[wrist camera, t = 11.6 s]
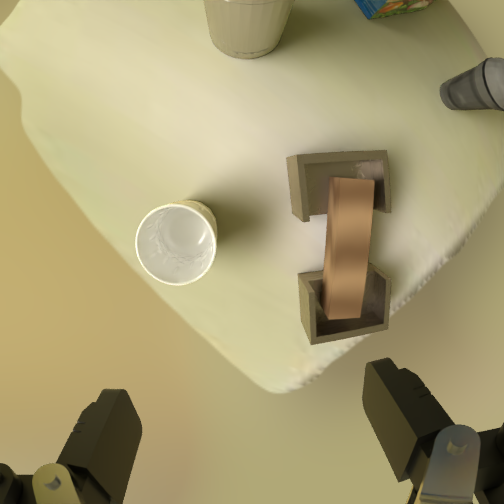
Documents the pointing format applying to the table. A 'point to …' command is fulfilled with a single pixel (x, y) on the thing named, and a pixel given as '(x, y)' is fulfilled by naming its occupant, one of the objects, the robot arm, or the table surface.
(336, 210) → the rail
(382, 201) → the bracket
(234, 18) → the robot arm
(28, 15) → the table surface
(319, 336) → the bracket
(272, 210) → the table surface
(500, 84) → the beverage cup
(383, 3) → the blue food package
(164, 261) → the white cup
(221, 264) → the table surface
